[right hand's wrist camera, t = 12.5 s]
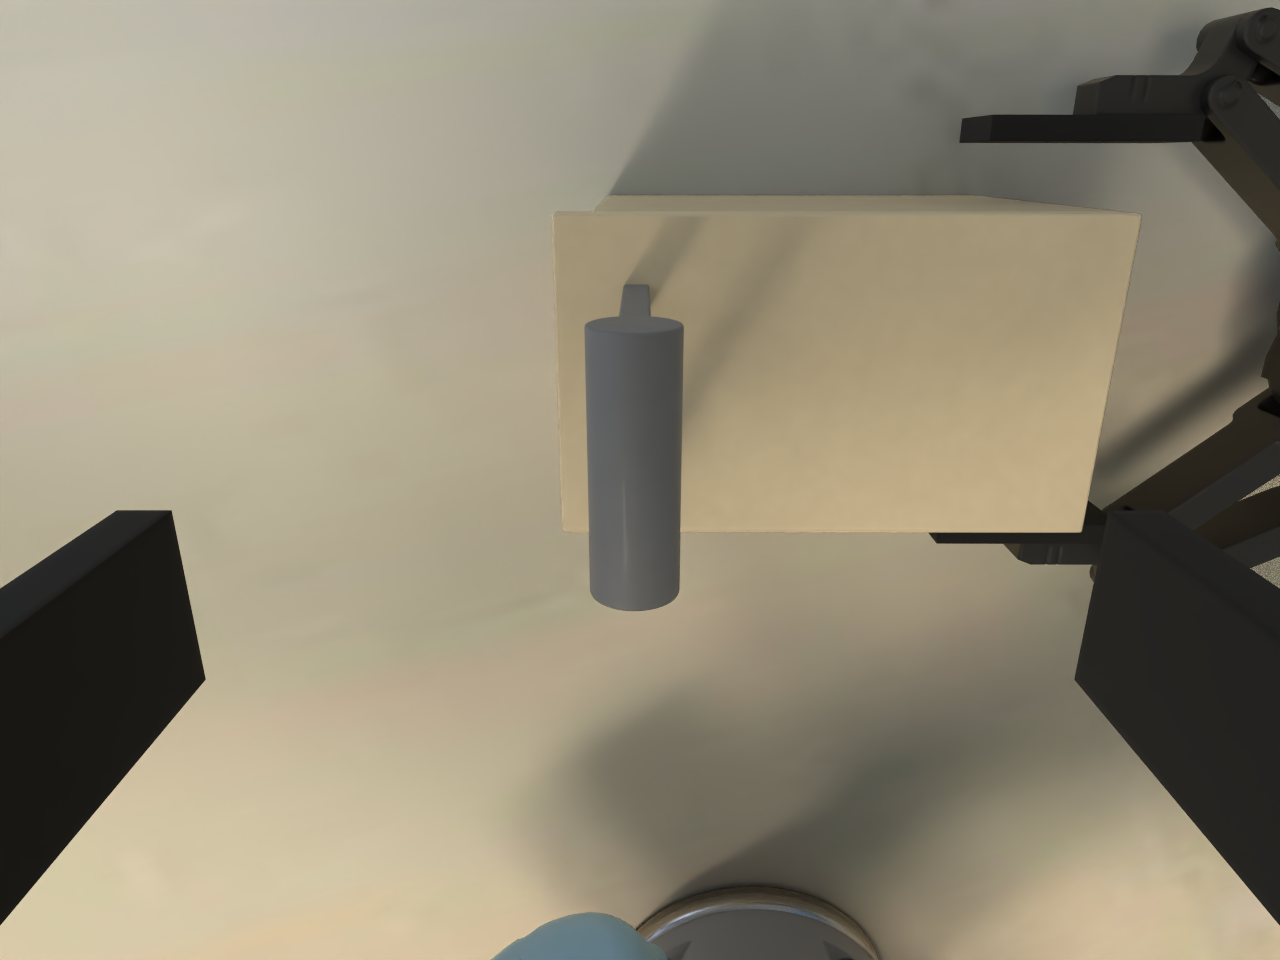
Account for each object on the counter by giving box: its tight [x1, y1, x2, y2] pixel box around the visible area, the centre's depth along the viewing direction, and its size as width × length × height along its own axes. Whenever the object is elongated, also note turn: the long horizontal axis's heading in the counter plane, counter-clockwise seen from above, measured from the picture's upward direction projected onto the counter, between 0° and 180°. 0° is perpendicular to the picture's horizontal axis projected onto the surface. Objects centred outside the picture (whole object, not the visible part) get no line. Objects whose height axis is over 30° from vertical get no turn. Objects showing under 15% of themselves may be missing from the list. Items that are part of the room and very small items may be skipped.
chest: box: [593, 195, 1113, 211], centre depth 31 cm, size 14×9×11 cm, turn 90°
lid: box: [551, 211, 1142, 611], centre depth 21 cm, size 16×9×9 cm, turn 90°
